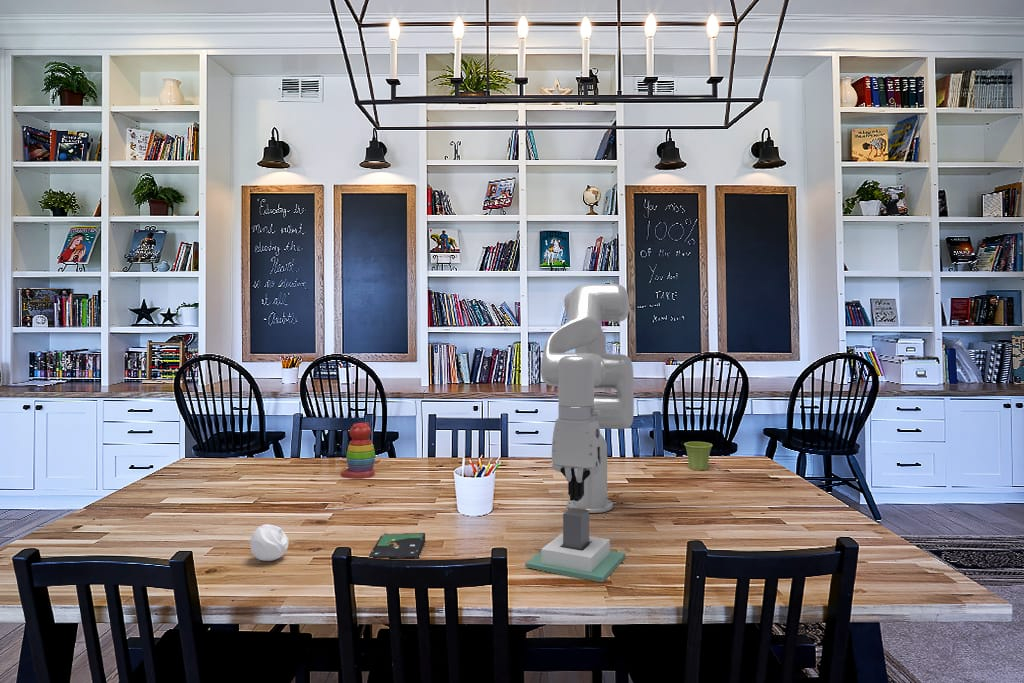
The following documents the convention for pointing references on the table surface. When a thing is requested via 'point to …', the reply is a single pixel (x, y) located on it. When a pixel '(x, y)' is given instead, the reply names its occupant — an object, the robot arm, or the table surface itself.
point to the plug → (576, 528)
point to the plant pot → (698, 455)
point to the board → (581, 574)
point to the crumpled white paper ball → (268, 542)
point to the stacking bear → (360, 453)
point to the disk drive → (399, 546)
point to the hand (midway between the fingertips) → (576, 499)
